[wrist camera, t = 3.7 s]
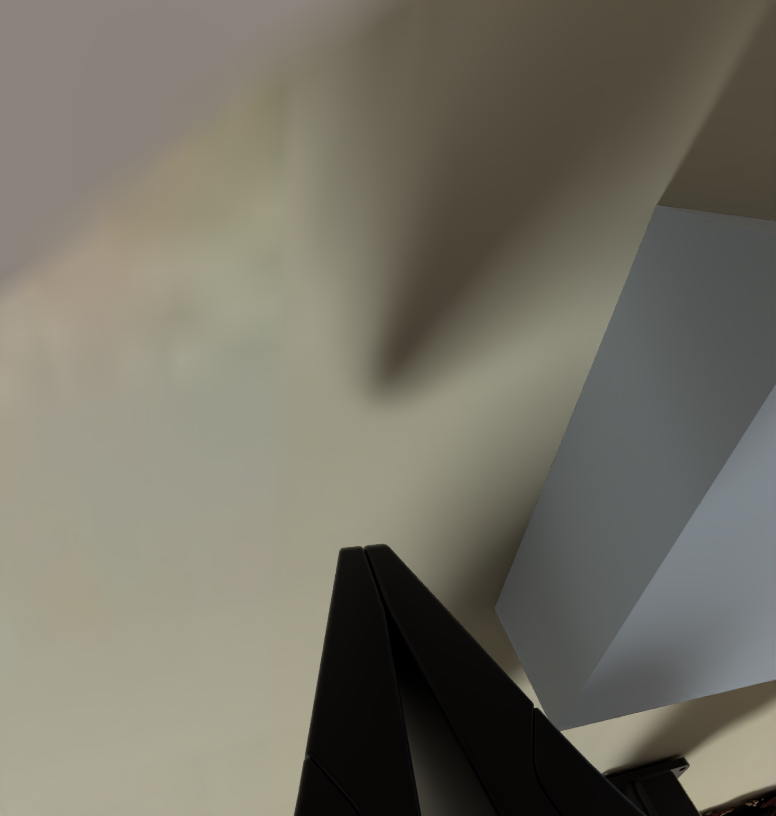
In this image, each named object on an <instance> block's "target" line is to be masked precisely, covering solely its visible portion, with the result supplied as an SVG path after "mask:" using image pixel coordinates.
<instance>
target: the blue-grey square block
mask: <svg viewBox="0 0 776 816" xmlns="http://www.w3.org/2000/svg"><path fill="white" fill-rule="evenodd" d="M494 610H495V612H496V614H497V616H498V618H499V620H500V622H501V624H502V626H503V628H504V630H505V632H506V634H507V636H508V638H509V640H510V642H511V644H512V647H513V649H514V651H515V653H516V655H517V657H518V659H519V661H520V663H521V665H522V667H523V669H524V671H525V673H526V675H527V677H528V679H529V681H530V683H531V685H532V687H533V689H534V691H535V693H536V695H537V697H538V699H539V702H540V704H541V706H542V708H543V710H544V712H545V714H546V716H547V718H548V719H549V721H550V722H551V723H552V724H553V725H554V726H555V727H556V728H557V729H558V730H559V731H563V730H567V729H571V728H575V727H579V726H584V725H588V724H592V723H596V722H600V721H604V720H609V719H613V718H617V717H621V716H625V715H630V714H634V713H638V712H642V711H646V710H650V709H655V708H659V707H663V706H667V705H671V704H676V703H680V702H684V701H688V700H692V699H696V698H701V697H705V696H709V695H713V694H717V693H722V692H726V691H730V690H734V689H738V688H742V687H747V686H751V685H755V684H759V683H763V682H768V681H772V680H776V221H773V220H765V219H758V218H750V217H743V216H736V215H728V214H721V213H714V212H706V211H699V210H692V209H684V208H677V207H670V206H662V205H656V208H655V210H654V213H653V215H652V218H651V220H650V223H649V225H648V228H647V230H646V233H645V235H644V237H643V240H642V242H641V245H640V247H639V250H638V252H637V255H636V257H635V260H634V262H633V265H632V267H631V270H630V272H629V275H628V277H627V280H626V282H625V285H624V287H623V290H622V292H621V295H620V297H619V300H618V302H617V305H616V307H615V310H614V312H613V315H612V317H611V320H610V322H609V325H608V327H607V330H606V332H605V335H604V337H603V340H602V342H601V345H600V347H599V350H598V352H597V355H596V357H595V359H594V362H593V364H592V367H591V369H590V372H589V374H588V377H587V379H586V382H585V384H584V387H583V389H582V392H581V394H580V397H579V399H578V402H577V404H576V407H575V409H574V412H573V414H572V417H571V419H570V422H569V424H568V427H567V429H566V432H565V434H564V437H563V439H562V442H561V444H560V447H559V449H558V452H557V454H556V457H555V459H554V462H553V464H552V467H551V469H550V472H549V474H548V477H547V479H546V481H545V484H544V486H543V489H542V491H541V494H540V496H539V499H538V501H537V504H536V506H535V509H534V511H533V514H532V516H531V519H530V521H529V524H528V526H527V529H526V531H525V534H524V536H523V539H522V541H521V544H520V546H519V549H518V551H517V554H516V556H515V559H514V561H513V564H512V566H511V569H510V571H509V574H508V576H507V579H506V581H505V584H504V586H503V589H502V591H501V594H500V596H499V599H498V601H497V603H496V606H495V608H494Z"/></svg>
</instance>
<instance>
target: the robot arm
mask: <svg viewBox="0 0 776 816" xmlns="http://www.w3.org/2000/svg"><path fill="white" fill-rule="evenodd" d="M689 767H690V765H689V763H688V762H687V760H686V759H685V758H684V757H683V758H679V759H675V760H672V761H668V762H665V763H661V764H658V765H654V766H651V767H647V768H644V769H640V770H637V771H633V772H630V773H626V774H623V775H619V776H616V777H612V778H609V779H606V778H605V777H604V776H603V775H602V774H601V773H600V772H599V771H598V770H597V769H596V768H595V767H594V766H593V765H592V764H591V763H590V762H589V761H588V760H587V759H586V758H585V757H584V756H583V755H582V754H581V753H580V752H579V751H578V750H577V749H576V748H575V747H574V746H573V745H572V744H571V743H570V742H569V741H568V740H567V739H566V738H565V737H564V735H563V734H562V733H561V732H560V731H559V730H558V729H557V728H556V727H555V726H554V725H553V724H552V723H551V722H550V721H549V719H548V718H547V717H546V716H545V715H544V714H543V713H542V712H541V711H540V710H539V709H538V708H534V704H533V702H532V701H531V700H530V699H529V698H528V697H527V696H526V695H525V694H524V693H523V692H522V690H521V689H520V688H519V687H518V686H517V685H516V684H515V683H514V682H513V681H512V680H511V678H510V677H509V676H508V675H507V674H506V673H505V672H504V671H503V670H502V669H501V668H500V667H499V665H498V664H497V663H496V662H495V661H494V660H493V659H492V658H491V657H490V656H489V655H488V654H487V652H486V651H485V650H484V649H483V648H482V647H481V646H480V645H479V644H478V643H477V642H476V640H475V639H474V638H473V637H472V636H471V635H470V634H469V633H468V632H467V631H466V630H465V629H464V627H463V626H462V625H461V624H460V623H459V622H458V621H457V620H456V619H455V618H454V617H453V616H452V614H451V613H450V612H449V611H448V610H447V609H446V608H445V607H444V606H443V605H442V604H441V603H440V601H439V600H438V599H437V598H436V597H435V596H434V595H433V594H432V593H431V592H430V591H429V589H428V588H427V587H426V586H425V585H424V584H423V583H422V582H421V581H420V580H419V579H418V578H417V576H416V575H415V574H414V573H413V572H412V571H411V570H410V569H409V568H408V567H407V566H406V565H405V563H404V562H403V561H402V560H401V559H400V558H399V557H398V556H397V555H396V554H395V553H394V551H393V550H392V549H391V548H390V547H389V546H387V545H385V544H376V545H367V546H365V547H364V548H362V547H361V546H356V547H346V548H341V549H340V551H339V556H338V562H337V568H336V574H335V580H334V586H333V592H332V598H331V604H330V610H329V616H328V621H327V627H326V633H325V639H324V645H323V651H322V657H321V663H320V669H319V675H318V681H317V687H316V693H315V699H314V705H313V711H312V717H311V723H310V728H309V734H308V740H307V746H306V752H305V760H304V762H303V768H302V774H301V780H300V786H299V792H298V797H297V802H296V807H295V812H294V816H701V815H700V813H699V812H698V810H697V808H696V807H695V805H694V804H693V802H692V801H691V799H690V798H689V796H688V794H687V793H686V791H685V790H684V788H683V787H682V785H681V783H680V782H679V780H678V778H679V777H680V776H681V775H682V774H683V773H684V772H685V771H686V770H687V769H688V768H689Z"/></svg>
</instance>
